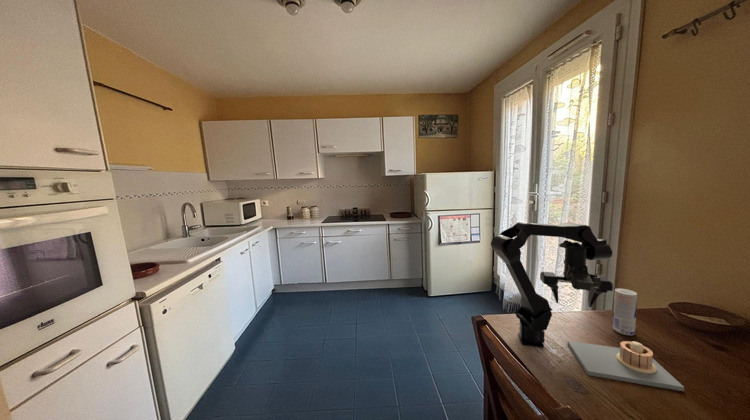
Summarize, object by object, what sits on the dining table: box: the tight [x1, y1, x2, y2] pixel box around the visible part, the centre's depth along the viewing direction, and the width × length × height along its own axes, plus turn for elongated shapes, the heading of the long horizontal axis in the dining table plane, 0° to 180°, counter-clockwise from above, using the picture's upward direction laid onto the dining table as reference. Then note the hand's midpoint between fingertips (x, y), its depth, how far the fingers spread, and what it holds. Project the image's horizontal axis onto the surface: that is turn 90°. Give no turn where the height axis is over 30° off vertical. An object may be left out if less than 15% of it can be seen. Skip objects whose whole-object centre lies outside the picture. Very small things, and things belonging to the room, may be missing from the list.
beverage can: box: [612, 288, 638, 336], centre depth 88 cm, size 6×6×15 cm
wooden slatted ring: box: [619, 340, 654, 370], centre depth 72 cm, size 6×6×4 cm
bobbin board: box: [567, 340, 685, 392], centre depth 73 cm, size 20×14×7 cm
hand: (572, 304), depth 85 cm, fingers open, 9 cm apart
